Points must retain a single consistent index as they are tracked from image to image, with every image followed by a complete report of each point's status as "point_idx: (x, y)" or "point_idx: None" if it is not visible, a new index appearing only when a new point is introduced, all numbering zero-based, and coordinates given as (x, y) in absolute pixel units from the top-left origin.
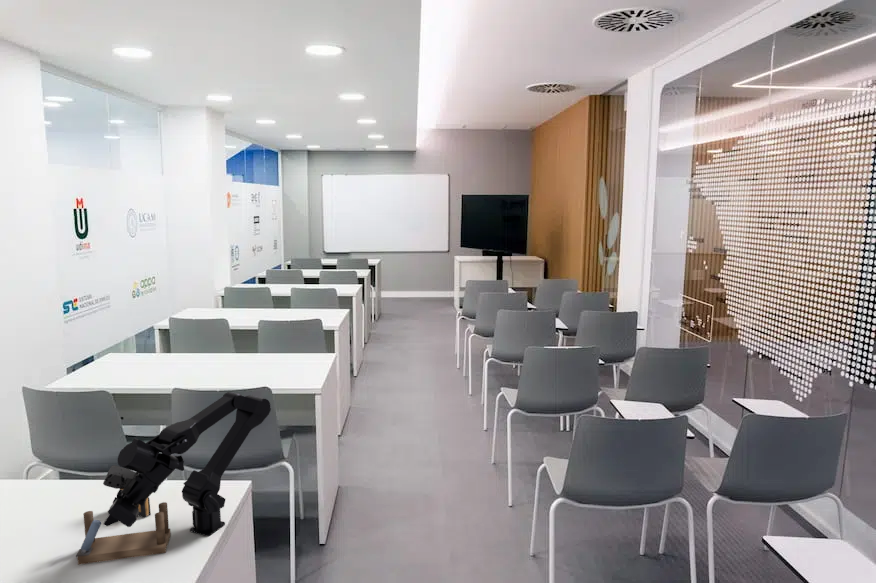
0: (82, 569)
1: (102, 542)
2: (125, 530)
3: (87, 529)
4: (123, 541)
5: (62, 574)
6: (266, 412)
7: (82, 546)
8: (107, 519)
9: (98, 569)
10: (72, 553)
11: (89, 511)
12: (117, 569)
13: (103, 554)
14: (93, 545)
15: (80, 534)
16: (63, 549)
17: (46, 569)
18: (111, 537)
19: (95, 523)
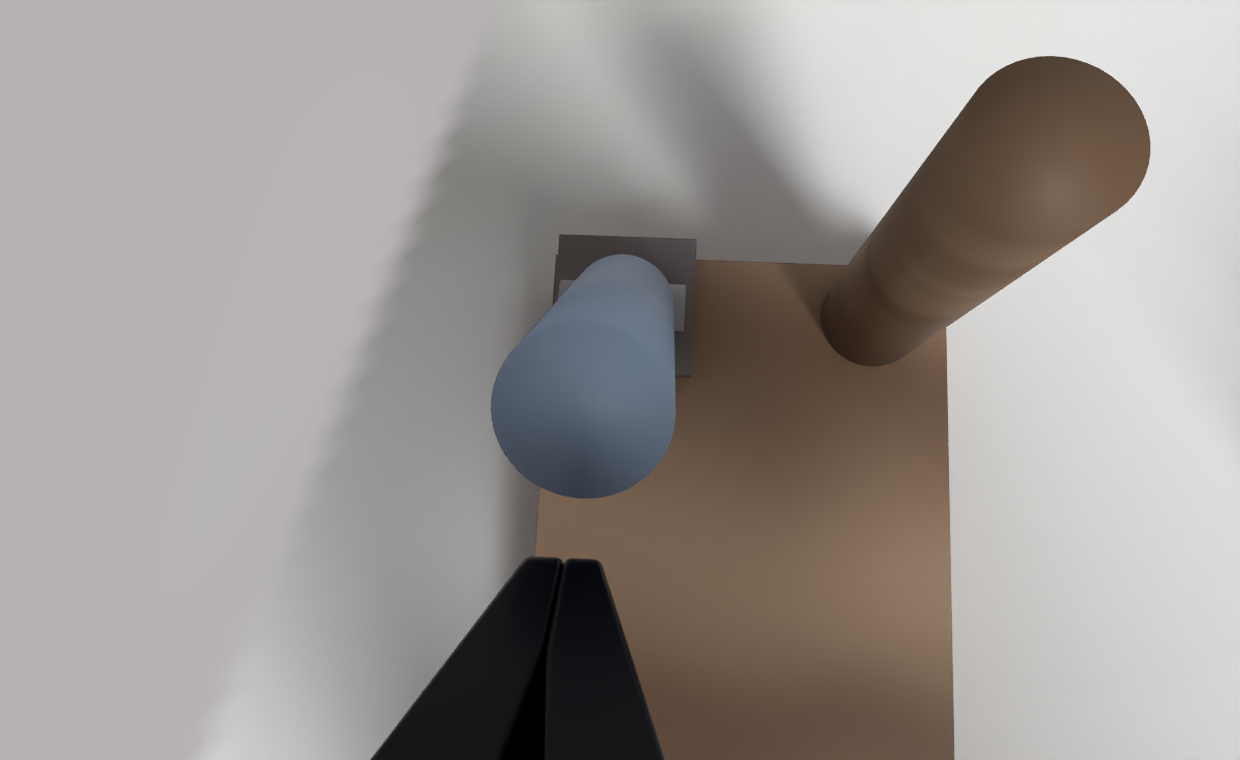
0: (466, 344)
1: (812, 460)
2: (1204, 641)
3: (871, 243)
4: (759, 722)
5: (441, 186)
6: None
7: (584, 271)
8: (441, 674)
9: (409, 499)
10: (813, 178)
11: (1126, 150)
12: (336, 697)
13: (538, 524)
14: (769, 370)
15: (1209, 160)
16: (920, 76)
17: (582, 29)
18: (910, 547)
19: (524, 395)
